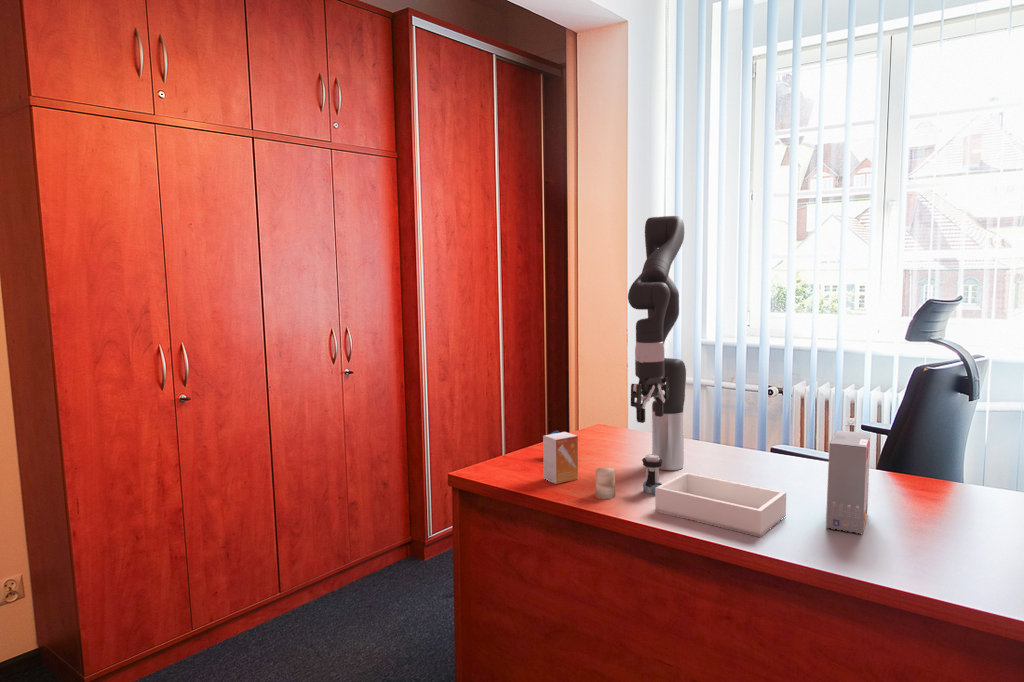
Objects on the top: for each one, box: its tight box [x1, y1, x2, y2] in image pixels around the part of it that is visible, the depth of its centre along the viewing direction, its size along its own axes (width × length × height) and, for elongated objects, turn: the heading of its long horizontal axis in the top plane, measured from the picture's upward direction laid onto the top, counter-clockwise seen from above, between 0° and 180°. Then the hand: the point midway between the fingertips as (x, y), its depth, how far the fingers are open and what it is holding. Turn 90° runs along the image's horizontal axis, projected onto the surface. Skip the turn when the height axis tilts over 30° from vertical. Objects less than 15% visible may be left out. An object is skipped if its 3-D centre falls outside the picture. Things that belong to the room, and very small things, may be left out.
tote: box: [654, 472, 787, 538], centre depth 157 cm, size 16×26×6 cm, turn 48°
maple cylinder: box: [595, 467, 616, 500], centre depth 172 cm, size 5×5×7 cm
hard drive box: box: [825, 429, 872, 534], centre depth 150 cm, size 16×8×20 cm, turn 148°
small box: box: [542, 431, 579, 485], centre depth 187 cm, size 8×6×13 cm
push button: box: [641, 453, 663, 495], centre depth 173 cm, size 7×5×10 cm
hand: (650, 419), depth 172 cm, fingers open, 8 cm apart
